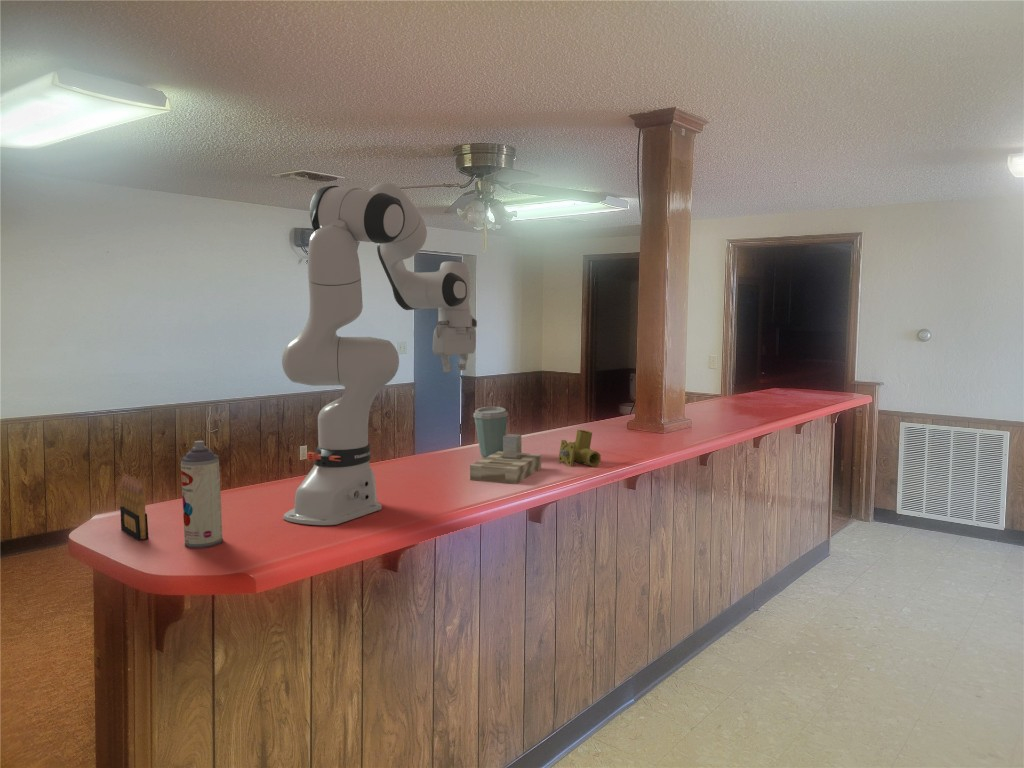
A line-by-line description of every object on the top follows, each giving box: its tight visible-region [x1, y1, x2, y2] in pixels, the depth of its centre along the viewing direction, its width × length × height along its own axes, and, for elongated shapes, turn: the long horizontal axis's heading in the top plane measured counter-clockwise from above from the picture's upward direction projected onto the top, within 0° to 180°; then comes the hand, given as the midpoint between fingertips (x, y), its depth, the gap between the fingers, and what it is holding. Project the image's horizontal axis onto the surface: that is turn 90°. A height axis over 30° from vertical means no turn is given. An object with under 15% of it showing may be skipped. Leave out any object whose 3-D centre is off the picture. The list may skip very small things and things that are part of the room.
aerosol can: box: [180, 440, 224, 549], centre depth 141 cm, size 7×7×20 cm
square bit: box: [503, 433, 522, 460], centre depth 205 cm, size 4×4×10 cm
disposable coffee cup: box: [472, 406, 509, 459], centre depth 223 cm, size 11×11×15 cm
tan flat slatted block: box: [469, 451, 542, 485], centre depth 201 cm, size 20×13×4 cm, turn 159°
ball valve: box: [557, 429, 602, 468], centre depth 214 cm, size 13×10×10 cm
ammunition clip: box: [119, 472, 150, 542], centre depth 147 cm, size 11×2×12 cm, turn 45°
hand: (454, 371), depth 203 cm, fingers open, 8 cm apart
